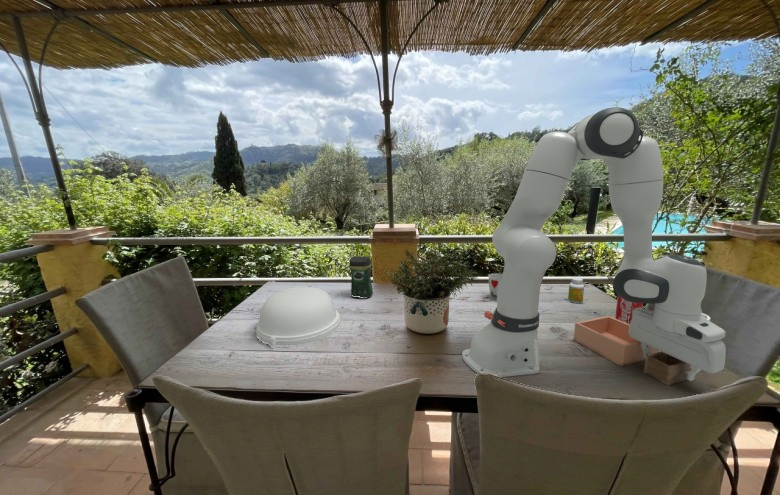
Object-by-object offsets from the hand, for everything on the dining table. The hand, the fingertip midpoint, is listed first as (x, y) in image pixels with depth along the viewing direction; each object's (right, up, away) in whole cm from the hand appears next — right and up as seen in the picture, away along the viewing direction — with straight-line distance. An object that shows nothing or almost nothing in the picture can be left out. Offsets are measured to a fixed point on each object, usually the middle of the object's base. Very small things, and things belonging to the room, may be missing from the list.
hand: (667, 368), depth 86 cm
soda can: (+10, +4, +28) cm, 30 cm away
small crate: (0, -2, 0) cm, 2 cm away
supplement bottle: (+5, +9, +51) cm, 52 cm away
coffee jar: (-85, +9, +65) cm, 107 cm away
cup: (-26, +9, +57) cm, 63 cm away
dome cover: (-105, +2, +36) cm, 111 cm away
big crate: (-4, +1, +14) cm, 15 cm away
